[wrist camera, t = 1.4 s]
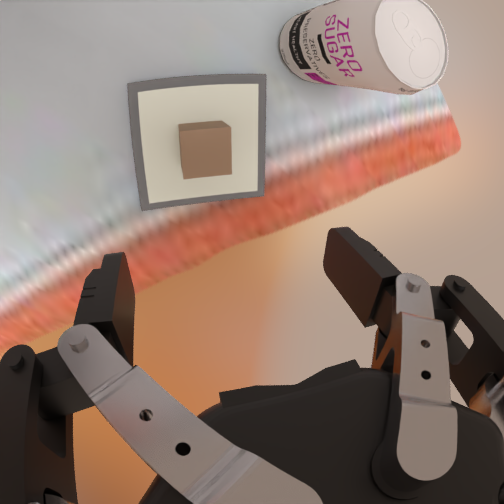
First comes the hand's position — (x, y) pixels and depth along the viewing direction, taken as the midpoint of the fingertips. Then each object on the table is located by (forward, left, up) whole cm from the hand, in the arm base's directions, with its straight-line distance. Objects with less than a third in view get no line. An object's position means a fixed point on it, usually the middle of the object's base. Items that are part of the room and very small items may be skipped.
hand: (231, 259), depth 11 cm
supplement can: (-11, +13, -21) cm, 27 cm away
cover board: (-1, +1, -19) cm, 19 cm away
